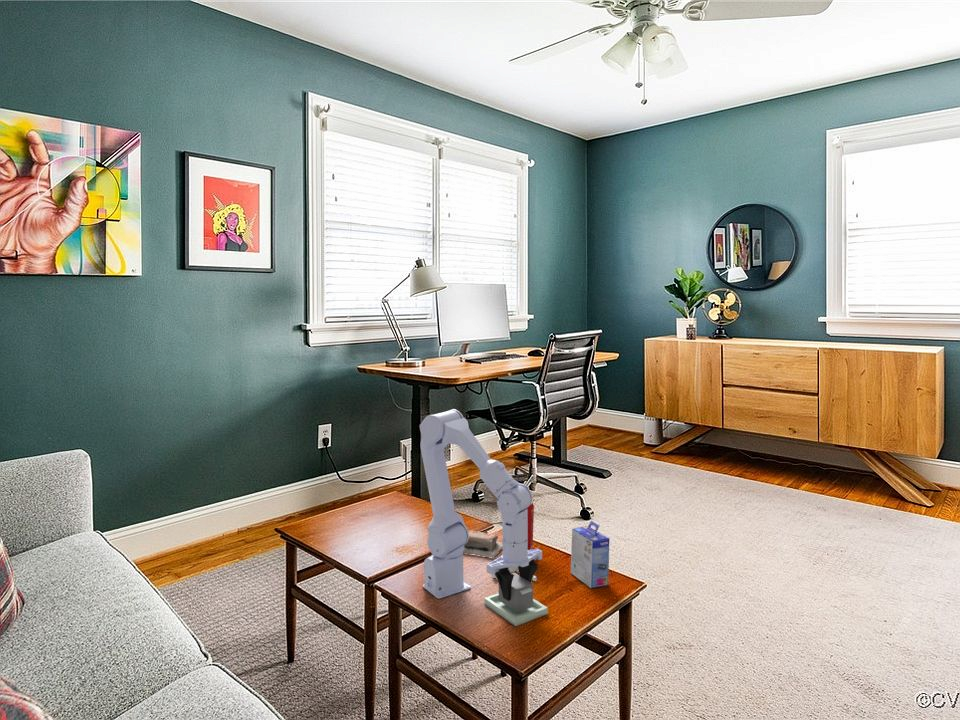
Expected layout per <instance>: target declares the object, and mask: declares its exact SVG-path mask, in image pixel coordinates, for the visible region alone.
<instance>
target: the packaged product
mask: <svg viewBox="0 0 960 720" xmlns="http://www.w3.org/2000/svg"><path fill="white" fill-rule="evenodd" d="M468 532H469V539H468V542H467V543H466V544H465V545H464V550H463V553H467V554H475V555H480V556H485V557H492V558H493V557H494V558H495V557H496V556H498V554H499V553H500V552H501V551H502V550H503V549H502V548H503V542H502V541H501V542H500V541H497V540H498V538H499V535H497V534H493V533H487V532H481V531H475V530H469V529H468ZM501 549H502V550H501ZM500 550H501V551H500ZM499 551H500V552H499ZM498 552H499V553H498ZM497 553H498V554H497ZM467 554H466V555H467ZM485 557H484V558H485ZM492 558H491V559H492ZM494 558H493V559H494Z"/></svg>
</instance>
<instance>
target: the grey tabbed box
mask: <svg viewBox="0 0 960 720" xmlns="http://www.w3.org/2000/svg"><path fill="white" fill-rule="evenodd" d="M512 574H513V575H514V577H513V580H512V586H511V598H510V600H509V601H507V600H506V599H504V598H503V595H502V591H501V587H500V584H499V583H498V593H499V601H500V602H502V603H503V604H505V605H506V606H508V607H509V608H511V609H512V610H514V611H515V612H516V613H518V612H521V611H523V610H526V609H529V608H531V607H533V599H534V583H533V582H532V581H531V582H529V581H527V580H526V579H524V578H523V577H521V576H519V573H518V574H517V573H516V572H513V573H512Z"/></svg>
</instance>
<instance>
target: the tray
mask: <svg viewBox="0 0 960 720" xmlns="http://www.w3.org/2000/svg"><path fill="white" fill-rule="evenodd" d="M484 605H485V606H486V607H487V608H489V609H490V610H492V611H493V612H494V613H496V614H497V615H499V616H500V617H502V618H503V619H504V620H506V621H507V623H510V624H511V625H513V626H514V627H518V626H520V625H523V624H526V623H528V622H531V621H533V620H535V619H539V618H541V617H543V616H547V615H548V613H549V612H548V611H549V608H548V606H546V605H544V604H542V602H540V601H538V600H536V599H534V598H533V607H531V608H529V609H526V610H523V611H521V612H518V613H516V612H515V611H514V610H512V609H511V608H509V607H508V606H506V605H505V604H503V603H502V602H500V601H499V592H497V593H495V594H492V595H488V596H486V597H484Z"/></svg>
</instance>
